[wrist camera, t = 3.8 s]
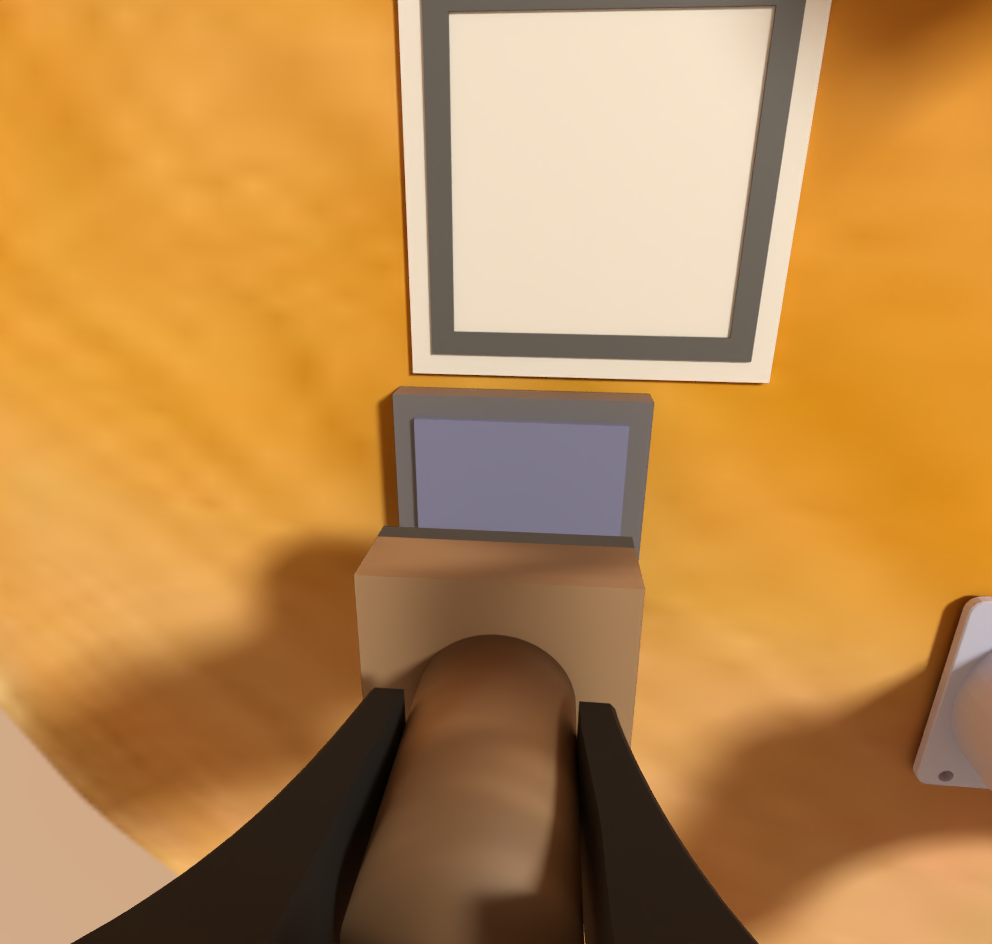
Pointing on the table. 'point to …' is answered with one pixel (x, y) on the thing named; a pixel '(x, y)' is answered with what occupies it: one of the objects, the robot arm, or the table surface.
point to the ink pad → (522, 460)
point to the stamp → (488, 726)
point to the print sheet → (604, 182)
